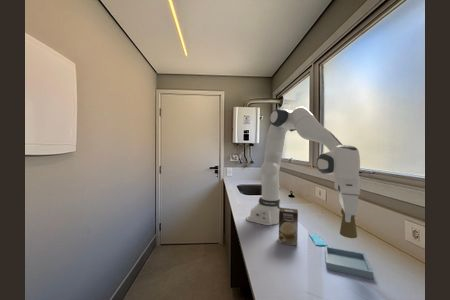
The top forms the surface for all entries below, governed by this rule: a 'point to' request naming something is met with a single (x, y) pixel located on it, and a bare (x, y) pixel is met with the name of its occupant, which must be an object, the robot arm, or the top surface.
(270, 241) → the top surface
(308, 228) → the top surface
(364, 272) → the tray
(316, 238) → the sponge
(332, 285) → the top surface
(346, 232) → the cork
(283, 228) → the coffee box
